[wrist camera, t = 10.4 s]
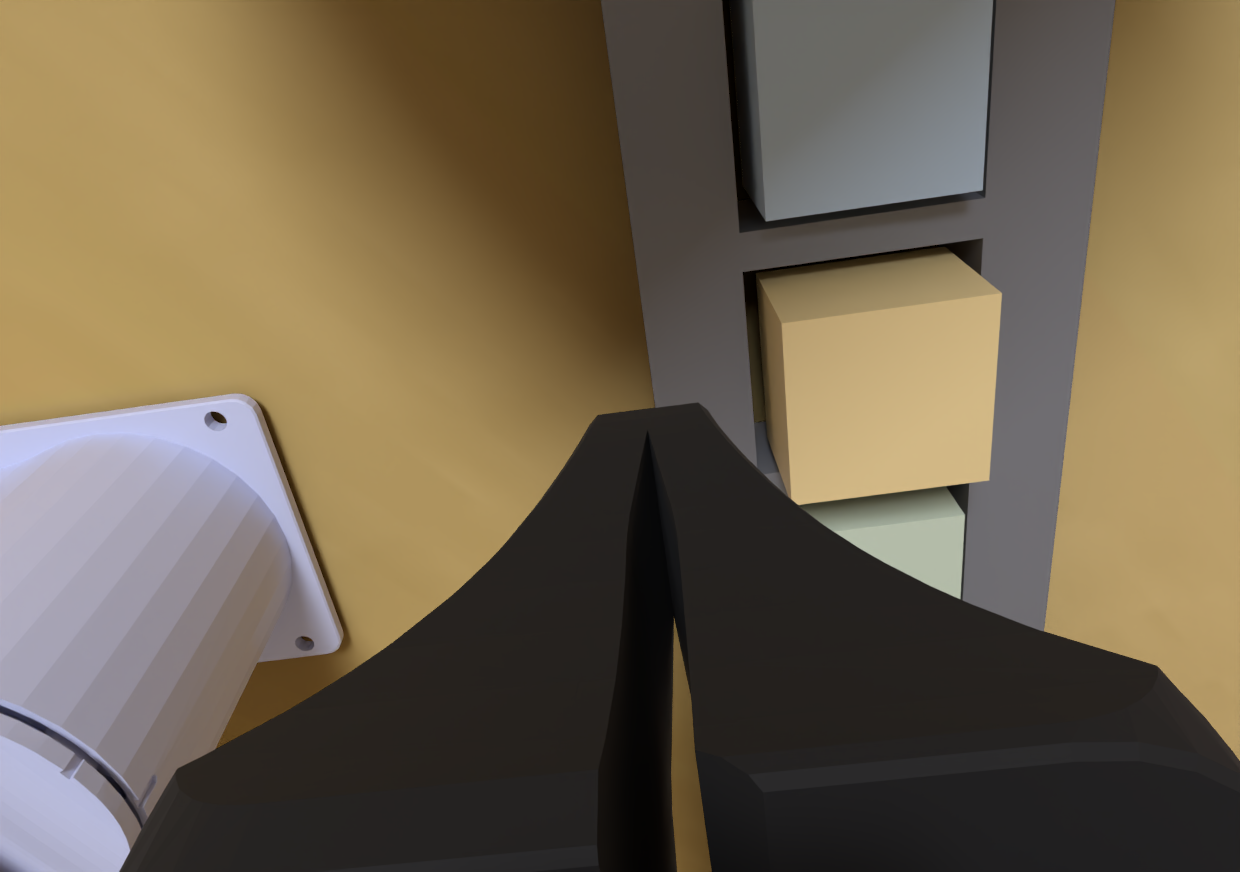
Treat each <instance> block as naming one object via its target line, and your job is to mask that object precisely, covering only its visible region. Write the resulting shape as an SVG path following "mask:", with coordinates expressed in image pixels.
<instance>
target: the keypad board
mask: <svg viewBox="0 0 1240 872" xmlns="http://www.w3.org/2000/svg"><path fill="white" fill-rule="evenodd" d="M601 6H602V13H603V21H604V28H605V36H606V43H607V50H608V58H609V65H610V73H611V80H612V88H613V95H614V103H615V110H616V118H617V125H618V132H619V140H620V147H621V155H622V162H623V170H624V177H625V185H626V192H627V200H628V207H629V215H630V222H631V229H632V237H633V244H634V252H635V259H636V267H637V274H638V282H639V289H640V297H641V304H642V311H643V319H644V326H645V334H646V341H647V349H648V356H649V364H650V371H651V379H652V386H653V393H654V401H655V408H658V407H666V406H673V405H681V404H689V403H697V402H698V403H700V404H701V405H702V406H704V407H705V408H706V409H707V410H708V411H709V412H710V414H711V416H712V417H713V418H714V420H715V421H716V423H717V424H718V425H719V427H720V428H721V429H722V430H723V432H724V433H725V434H726V435H727V436H728V437H729V439H730V440H731V441H732V442H733V443H734V444H735V445H736V447H737V448H738V449H739V450H740V451H741V452H742V453H743V454H744V455H745V456H746V457H747V458H748V459H749V460H750V461H751V462H752V463H753V464H754V465H755V466H756V467H757V468H758V469H759V470H760V471H761V472H762V473H763V474H764V475H765V476H766V477H767V478H768V479H769V480H770V481H771V482H772V483H773V484H774V485H776V486H777V487H778V488H779V489H780V490H781V491H782V492H783V493H784V494H786V495H787V496H788V494H787V491H786V488H785V485H784V483H783V480H782V477H781V474H780V471H779V469H778V466H777V463H776V460H775V457H774V455H773V452H772V449H771V446H770V443H769V441H768V438H767V429H766V421H764V422H757V423H754V416H753V403H752V390H751V377H750V364H749V350H748V337H747V324H746V311H745V298H744V284H743V272H747V271H754V270H761V269H768V268H775V267H782V266H790V265H797V264H804V263H811V262H818V261H825V260H832V259H839V258H846V257H853V256H861V255H868V254H875V253H882V252H889V251H896V250H903V249H910V248H917V247H924V246H931V245H939V247H946V248H947V249H948V250H950V251H951V252H952V253H953V254H955V255H956V256H957V257H958V258H960V259H961V260H962V261H963V262H964V263H966V264H967V265H968V266H969V267H971V268H972V269H973V270H974V271H975V272H977V273H978V274H979V275H980V276H982V277H983V278H984V279H985V280H987V281H988V282H989V283H990V284H991V285H993V286H994V287H995V288H996V289H998V290H999V291H1000V292H1001V293H1002V301H1001V315H1000V330H999V345H998V359H997V374H996V388H995V403H994V418H993V432H992V447H991V461H990V476H989V481H981V482H973V483H965V484H958V485H950V486H946V487H947V489H948V490H949V492H950V493H951V495H952V496H953V498H954V499H955V501H956V502H957V504H958V505H959V507H960V508H961V510H962V511H963V513H964V514H965V523H964V541H963V560H962V578H961V596H960V599H961V600H963V601H965V602H968V603H970V604H972V605H975V606H978V607H980V608H983V609H985V610H988V611H990V612H993V613H996V614H998V615H1001V616H1003V617H1006V618H1008V619H1011V620H1014V621H1016V622H1019V623H1021V624H1024V625H1026V626H1029V627H1032V628H1035V629H1038V630H1041V631H1044V626H1045V617H1046V608H1047V599H1048V591H1049V582H1050V573H1051V564H1052V555H1053V547H1054V538H1055V529H1056V520H1057V511H1058V503H1059V494H1060V485H1061V476H1062V467H1063V459H1064V450H1065V441H1066V432H1067V423H1068V414H1069V406H1070V397H1071V388H1072V379H1073V370H1074V362H1075V353H1076V344H1077V335H1078V326H1079V318H1080V309H1081V300H1082V291H1083V282H1084V273H1085V265H1086V256H1087V247H1088V238H1089V229H1090V221H1091V212H1092V203H1093V194H1094V185H1095V177H1096V168H1097V159H1098V150H1099V141H1100V133H1101V124H1102V115H1103V106H1104V97H1105V88H1106V80H1107V71H1108V62H1109V53H1110V44H1111V36H1112V27H1113V18H1114V9H1115V0H993V10H992V29H991V47H990V65H989V84H988V102H987V120H986V138H985V157H984V175H983V190H982V191H975V192H968V193H961V194H954V195H947V196H940V197H933V198H926V199H919V200H912V201H905V202H898V203H891V204H884V205H877V206H870V207H863V208H856V209H849V210H842V211H835V212H828V213H821V214H814V215H807V216H800V217H793V218H786V219H780V220H773V221H765V219H764V218H763V216H762V215H761V213H760V212H759V210H758V209H757V207H756V205H755V204H754V202H753V201H752V199H747V200H740V201H737V192H736V179H735V166H734V153H733V139H732V126H731V113H730V100H729V87H728V73H727V60H726V47H725V34H724V21H723V7H722V0H601Z"/></svg>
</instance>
